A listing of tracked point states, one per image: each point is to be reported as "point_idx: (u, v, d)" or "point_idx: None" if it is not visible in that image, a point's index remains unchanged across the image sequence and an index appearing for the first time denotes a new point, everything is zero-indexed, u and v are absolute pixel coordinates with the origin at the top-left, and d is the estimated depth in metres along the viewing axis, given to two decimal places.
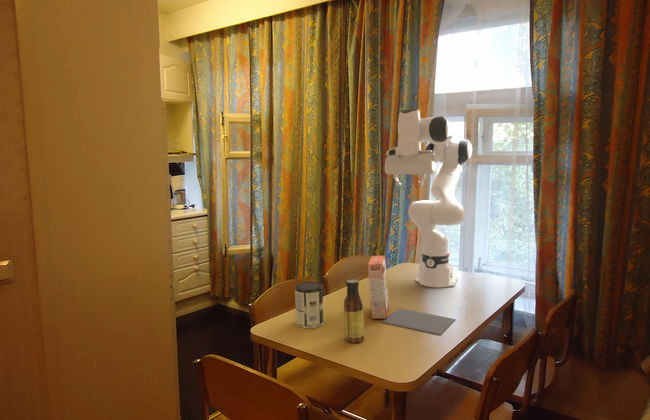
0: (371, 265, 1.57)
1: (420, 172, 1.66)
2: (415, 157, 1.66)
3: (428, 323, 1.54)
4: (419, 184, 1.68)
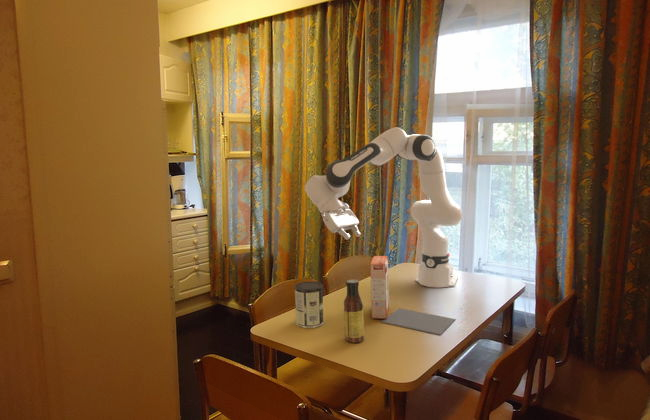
0: (374, 264, 1.57)
1: None
2: None
3: (428, 323, 1.54)
4: None
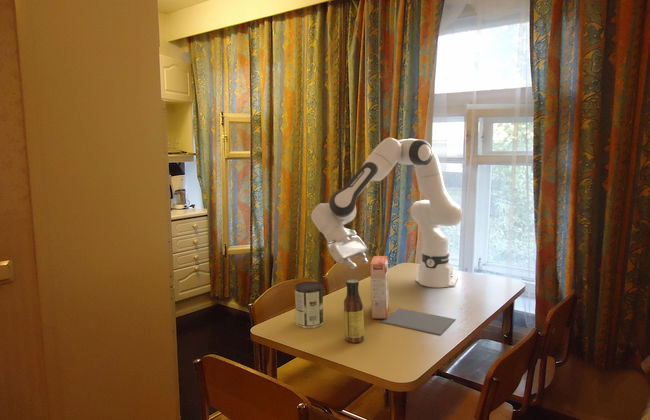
0: (374, 264, 1.57)
1: None
2: None
3: (428, 323, 1.54)
4: None
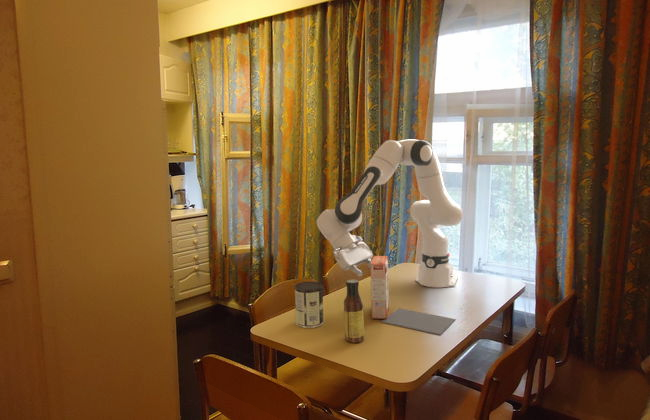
0: (374, 264, 1.57)
1: None
2: None
3: (428, 323, 1.54)
4: None
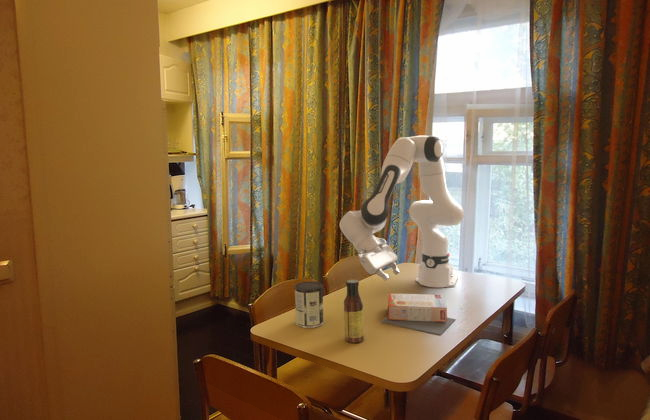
0: (445, 311, 1.53)
1: None
2: None
3: (428, 323, 1.54)
4: None
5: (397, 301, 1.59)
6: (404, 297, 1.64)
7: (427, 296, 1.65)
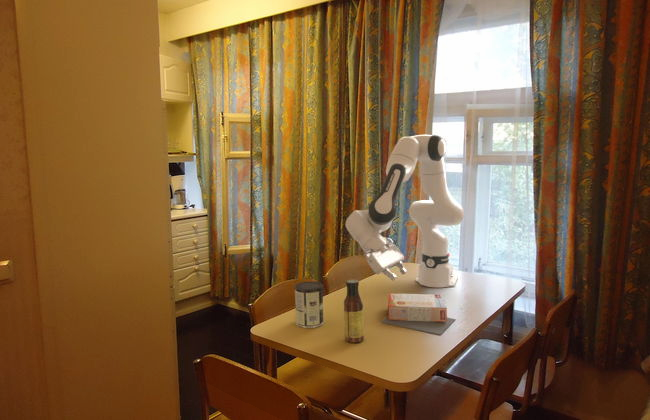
0: (445, 311, 1.53)
1: None
2: None
3: (428, 323, 1.54)
4: None
5: (397, 302, 1.59)
6: (404, 297, 1.64)
7: (427, 296, 1.65)
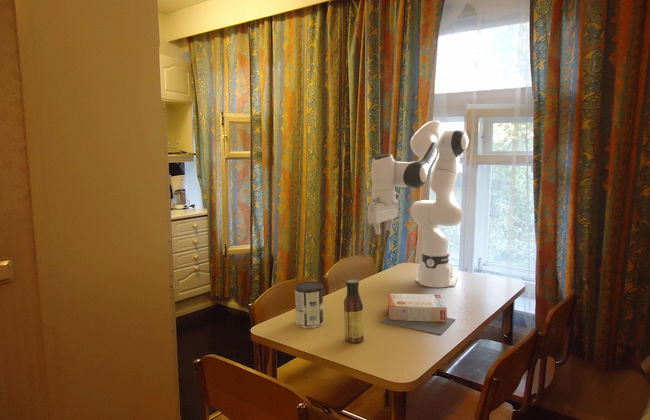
0: (445, 311, 1.53)
1: None
2: None
3: (428, 323, 1.54)
4: None
5: (397, 302, 1.59)
6: (404, 297, 1.64)
7: (427, 296, 1.65)
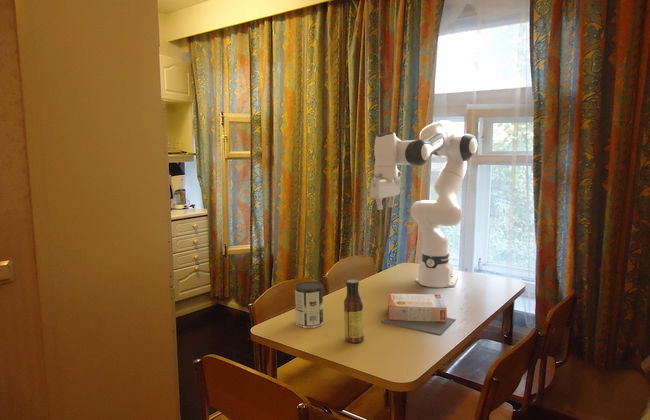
0: (445, 311, 1.53)
1: None
2: None
3: (428, 323, 1.54)
4: None
5: (397, 302, 1.59)
6: (404, 297, 1.64)
7: (427, 296, 1.65)
